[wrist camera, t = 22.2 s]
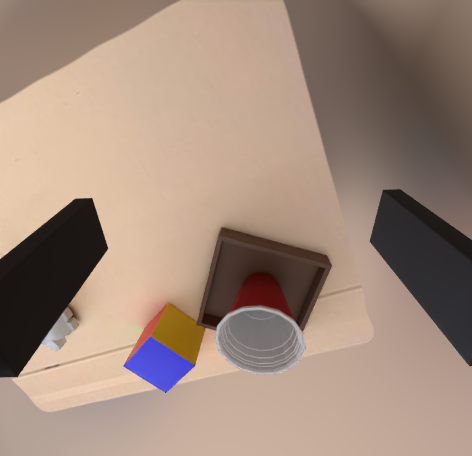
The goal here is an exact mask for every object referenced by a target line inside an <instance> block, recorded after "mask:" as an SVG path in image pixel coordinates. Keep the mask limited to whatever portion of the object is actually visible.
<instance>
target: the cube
mask: <svg viewBox="0 0 472 456" xmlns="http://www.w3.org/2000/svg"><path fill="white" fill-rule="evenodd" d="M204 331H205V327H201V326H197V322H196V321H195V320H193V319H192V318H190V317H189V316H188V315H186V314H185V313H183V312H182V311H180V310H179V309H177V308H176V307H175V306H173V305H172V304H170V303H169V302H168V303H167V304H166V305H165V306H164V308H163V309H162V310H161V311H160V312H159V313H158V314H157V315H156V317H155V318H154V319H153V320H152V321H151V322H150V323H149V325H148V326H147V327H146V328H145V329H144V331H143V332H142V334H141V336H140V338H139V339H138V341H137V343H136V345H135V347H134V348H133V350H132V352H131V354H130V355H129V357H128V359H127V361H126V362H125V364H124V367H125V368H127V369H129V370H130V371H132V372H133V373H135V374H137V375H138V376H140V377H141V378H143V379H145V380H146V381H148V382H149V383H151V384H153V385H154V386H156V387H157V388H159V389H161V390H162V391H164V392H165V393H166V392H167V391H169V390H170V389H171V388H172V387H173V386H174V385H175V384H176V383H177V382H178V381H179V380H180V379H181V378H182V377H183V376H185V375H186V374H187V373H188V372H189V371H190V370H191V369H192V368H193V367H194V366H195V364H196V360H197V357H198V353H199V349H200V346H201V342H202V339H203V335H204Z"/></svg>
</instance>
